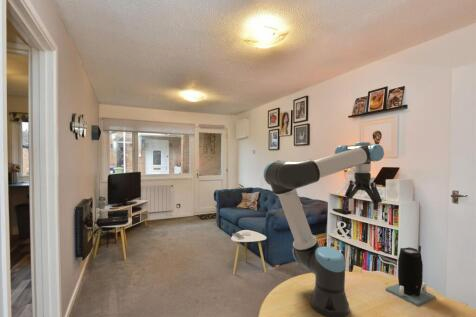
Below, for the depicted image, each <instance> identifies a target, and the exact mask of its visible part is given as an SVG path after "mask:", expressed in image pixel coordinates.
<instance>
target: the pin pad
mask: <svg viewBox="0 0 476 317" xmlns="http://www.w3.org/2000/svg"><path fill="white" fill-rule="evenodd" d="M385 291H386V292H388V293H390V294H392V295H394V296H396V297H398V298H400V299H402V300H404V301H406V302H408V303H410V304H412V305H413V306H416V307H419V306H421V305H424V304H426V303H428V302H431V301H433V300H435V299H437V298H436V297H437V296H436V295H434V294H431V293H429V292H428V291H427V283H426V282H424V281H422V287H421V291H420V295H419V296H418V295H417V294H412V295H407V294H404V287H403V286H400V287H399V283H396V284H394V285H391V286H388V287H385Z"/></svg>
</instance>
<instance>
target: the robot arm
mask: <svg viewBox="0 0 476 317" xmlns="http://www.w3.org/2000/svg"><path fill="white" fill-rule="evenodd" d="M384 156H385V150H384V147H383V146H382V145H380V144H375V143H371V142H368V141H357V142H355V143H354V145H353V144H350V145H345V144H343V145H338V146H336V148H335V149H334V154H331V155H328V156H325V157H321V158H318V159H315V160H314V159H308V160H303V161H301V160H300V161H297V160H296V161H291V160H287V161H286V160H273V161H271V162H269V163H268V164H267V165H266V166H265V168H264V170H263V178H264V181H265V182H266V184H267V185H270V187H271V189H272V192H273V195H275V196H277V197H278V199H279V202H280V205H281V207H282V210H283V212H284V216H285V219H286V221H287V224H288V226H289V229H290V232H291V234H292V238H293V239H294V240H293V242H292V256H293V258H294V260H295V261H296V262H297V263H298V264H299V265H300V266H302V267H303V268H304V269H306V270H308V271H309V272H311V273H312V274H314V275H315V276H314V277H315V280H314V281H315V283H314V288H313V292H312V294H311V297H310V306H311V307H312V309H313V310H314V311H315V312H317V313H319V314H321V315H322V316H325V317H346V316H348V314H349V312H350V305H349V301H348V298H347V294H346V291H345V284H346V282H345V281H346V280H345V279H346V259H345V256H344V254H343V253H342V252H341V251H340V250H338V249H336V248H334V247H330V246H320V243H319V241H318V238H317V236H316V235H314V234H313V233H312V231H311V228H310V224H309V222H308V220H307V217H306V213H305V211H304V208H303V206H302V203H301V199H300V197H299V194H298V192H297V189H300V188H302V187H303V188H304V187H306V186H309V185H311V184H314V183H317V182H319V181H320V179H322V178H326V177H327V176H330V175H334V174H336V173H339V172H341V171H344V170H349V169H350V168H353V167H354V179H351V180H349V185H348V187H347V189H346V191H345V194H344V197H345V198H347V204H348V211H349V212H351V211H352V212H353V211H354V207H355V206H354V203H355V202H354V201H355V200H354V199H355V198H354V196H355V195H356V194H357V193H358V192H359V191H364V192H365V193H366V194H367V195H368V197H369V198H370V200H371V201H372V202H371V205H370V206H371V207H370V208H371V209H370V210H371V212H370V213H371V214H370V216H371V217H373V218H374V217H377V214H378V213H377V211H378V210H379V209H378V208H379V203H383V200H382V198H381V194H380V193H379V192H380V191H379V190H378V188H377V183H376V182H371V180H372V178H371V177H372V175H371V171H372V170H371V169H372V162H374V163H375V162H379V161H382V160H383V158H384Z"/></svg>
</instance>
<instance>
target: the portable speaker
mask: <svg viewBox="0 0 476 317" xmlns="http://www.w3.org/2000/svg"><path fill="white" fill-rule="evenodd" d="M423 266H424V264H423V259H422V253H421V252H420V251H419V250H418V249H416V248H414V247H400V250H399V255H398V259H397V279H398V281H397V282H398V284H399V287H400V286H403V287H404V294H407V295H412V294H417V295H418V296H419V295H420V291H421V290H422V282H423V273H424V272H423V270H424V268H423Z"/></svg>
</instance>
